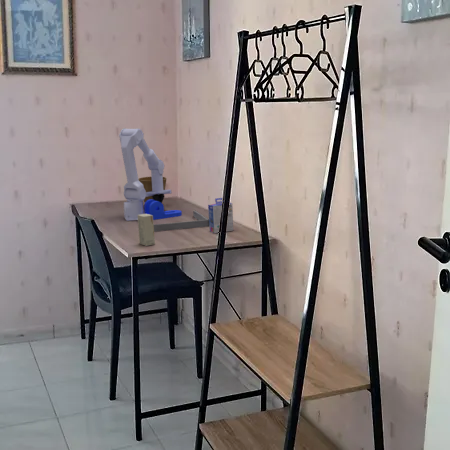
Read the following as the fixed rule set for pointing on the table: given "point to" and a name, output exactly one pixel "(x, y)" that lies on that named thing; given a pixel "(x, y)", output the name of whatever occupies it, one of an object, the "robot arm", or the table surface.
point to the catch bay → (184, 223)
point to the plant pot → (150, 185)
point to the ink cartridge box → (216, 214)
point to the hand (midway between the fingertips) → (158, 208)
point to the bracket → (159, 210)
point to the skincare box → (146, 229)
